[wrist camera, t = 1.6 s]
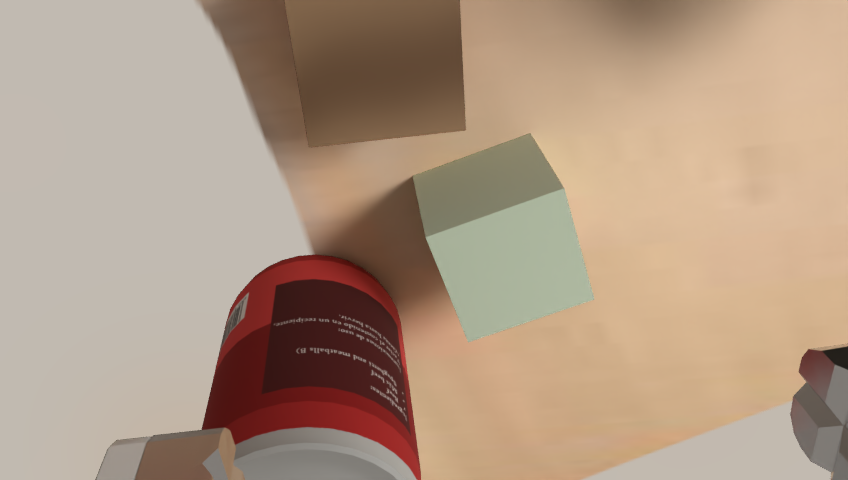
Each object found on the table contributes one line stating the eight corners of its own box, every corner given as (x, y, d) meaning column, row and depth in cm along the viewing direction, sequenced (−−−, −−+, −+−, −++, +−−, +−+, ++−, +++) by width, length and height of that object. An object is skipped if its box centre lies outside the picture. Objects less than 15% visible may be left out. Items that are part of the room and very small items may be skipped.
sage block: (412, 175, 29) (425, 237, 25) (529, 132, 28) (564, 188, 24) (450, 271, 31) (468, 342, 27) (558, 233, 31) (594, 299, 27)
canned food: (259, 407, 34) (229, 631, 25) (200, 270, 30) (138, 476, 21) (416, 372, 34) (446, 584, 25) (378, 230, 30) (398, 419, 20)
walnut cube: (291, -46, 24) (281, -18, 20) (436, -60, 25) (457, -35, 20) (313, 95, 27) (308, 147, 23) (445, 81, 27) (466, 130, 23)
